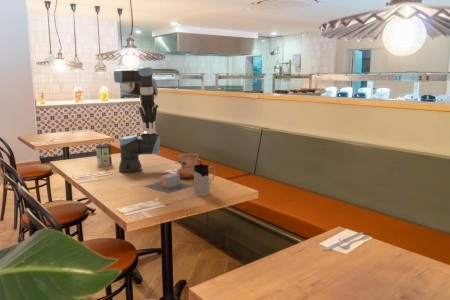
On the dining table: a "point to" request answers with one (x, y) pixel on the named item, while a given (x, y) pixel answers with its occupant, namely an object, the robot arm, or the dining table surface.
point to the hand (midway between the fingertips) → (150, 133)
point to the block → (170, 180)
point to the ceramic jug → (187, 165)
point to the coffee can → (103, 155)
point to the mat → (161, 188)
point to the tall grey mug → (202, 180)
